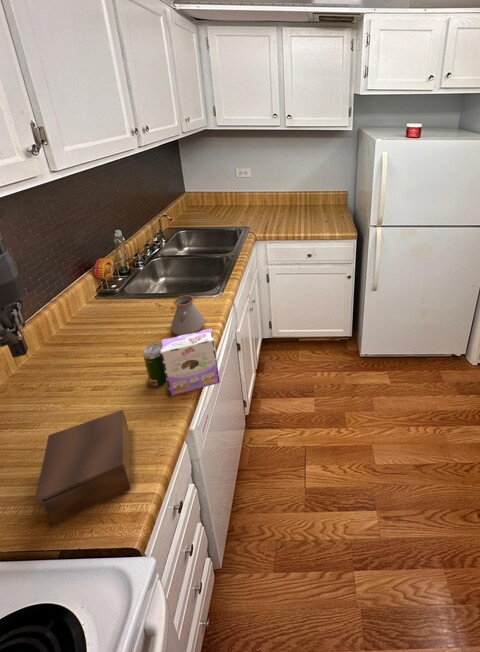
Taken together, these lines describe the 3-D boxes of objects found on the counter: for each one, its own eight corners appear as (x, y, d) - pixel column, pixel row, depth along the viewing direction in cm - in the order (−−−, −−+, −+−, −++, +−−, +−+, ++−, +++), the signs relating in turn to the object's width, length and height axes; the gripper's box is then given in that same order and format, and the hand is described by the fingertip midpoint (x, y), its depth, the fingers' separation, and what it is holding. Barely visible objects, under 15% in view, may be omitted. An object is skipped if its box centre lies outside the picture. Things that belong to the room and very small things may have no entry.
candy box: (218, 370, 103) (212, 327, 97) (220, 385, 98) (214, 340, 91) (170, 383, 98) (161, 338, 92) (169, 398, 93) (159, 352, 87)
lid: (35, 503, 62) (34, 500, 61) (49, 437, 73) (48, 434, 73) (124, 466, 68) (123, 464, 68) (123, 411, 80) (123, 409, 80)
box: (53, 527, 65) (41, 502, 62) (64, 460, 77) (54, 437, 74) (131, 490, 71) (124, 466, 68) (130, 434, 83) (123, 412, 80)
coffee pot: (172, 323, 124) (166, 289, 118) (205, 317, 127) (200, 284, 122) (168, 364, 105) (161, 325, 100) (206, 355, 109) (201, 318, 103)
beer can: (165, 388, 96) (158, 356, 92) (146, 388, 96) (138, 356, 92) (172, 374, 101) (166, 343, 97) (155, 374, 101) (148, 342, 97)
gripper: (-25, 267, 63) (6, 340, 70) (-55, 302, 52) (-15, 384, 59) (25, 259, 67) (50, 329, 73) (6, 290, 56) (37, 369, 62)
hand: (21, 353), depth 66 cm, fingers closed
